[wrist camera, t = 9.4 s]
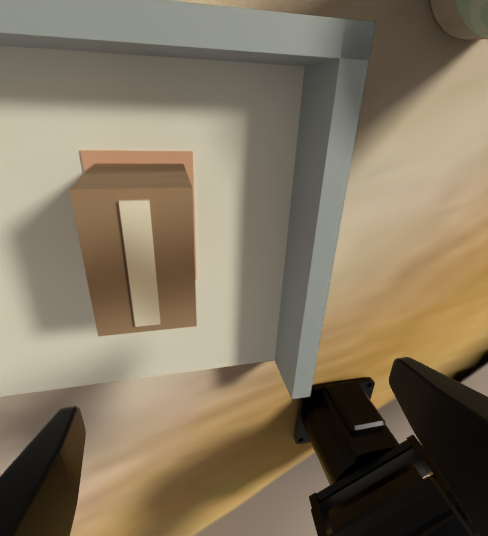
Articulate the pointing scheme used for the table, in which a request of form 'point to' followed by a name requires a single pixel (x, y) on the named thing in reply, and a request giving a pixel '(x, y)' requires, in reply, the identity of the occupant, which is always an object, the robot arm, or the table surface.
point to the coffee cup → (462, 17)
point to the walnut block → (137, 246)
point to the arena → (198, 170)
